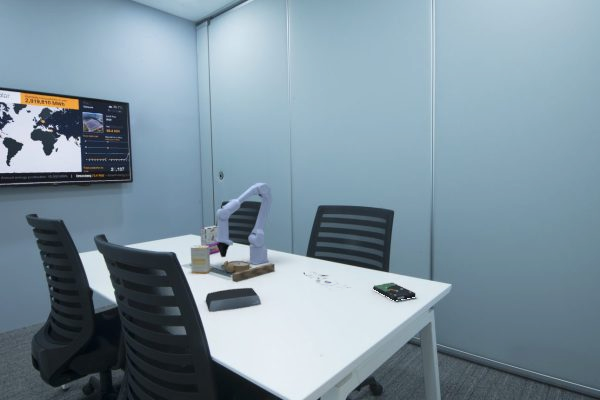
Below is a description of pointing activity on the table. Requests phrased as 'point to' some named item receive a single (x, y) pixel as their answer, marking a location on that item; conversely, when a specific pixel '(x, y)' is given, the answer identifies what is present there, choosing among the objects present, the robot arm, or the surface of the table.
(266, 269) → the walnut board
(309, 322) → the table surface
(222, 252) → the robot arm
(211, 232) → the candy bar box
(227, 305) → the external hard drive
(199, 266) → the supplement box
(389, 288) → the disk drive
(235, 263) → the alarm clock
